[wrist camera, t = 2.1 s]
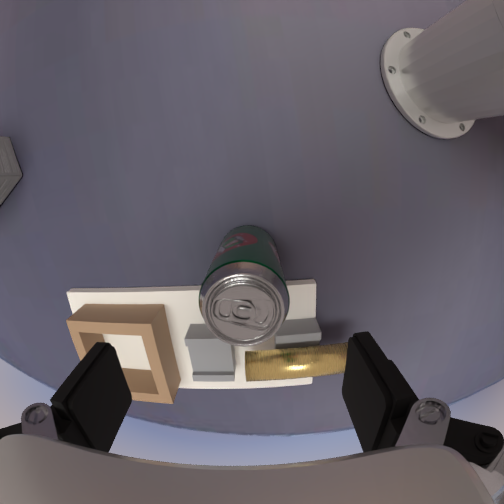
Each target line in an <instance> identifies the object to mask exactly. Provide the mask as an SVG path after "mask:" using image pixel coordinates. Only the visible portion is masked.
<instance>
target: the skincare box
mask: <svg viewBox="0 0 504 504" xmlns="http://www.w3.org/2000/svg"><path fill="white" fill-rule="evenodd" d="M21 176H22V172H21V170H20V167H19V165H18V162H17V159H16V156H15V153H14V150H13V147H12V144H11V141H10V138H9V137H2V136H0V205H1V203H2V202H3V201H4V200H5V198H6V197H7V196H8V194H9V193H10V192H11V190H12V189H13V188H14V186H15V185H16V184H17V182H18V181H19V180H20V178H21Z"/></svg>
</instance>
